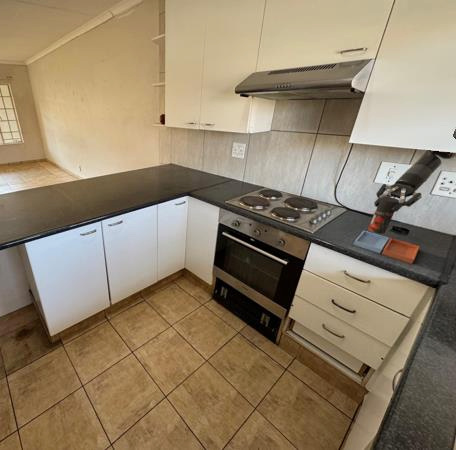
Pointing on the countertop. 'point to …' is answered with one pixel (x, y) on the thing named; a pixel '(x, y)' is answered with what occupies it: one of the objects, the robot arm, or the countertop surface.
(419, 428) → the countertop surface
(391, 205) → the deodorant
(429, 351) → the countertop surface
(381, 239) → the blue tray
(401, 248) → the terracotta tray
